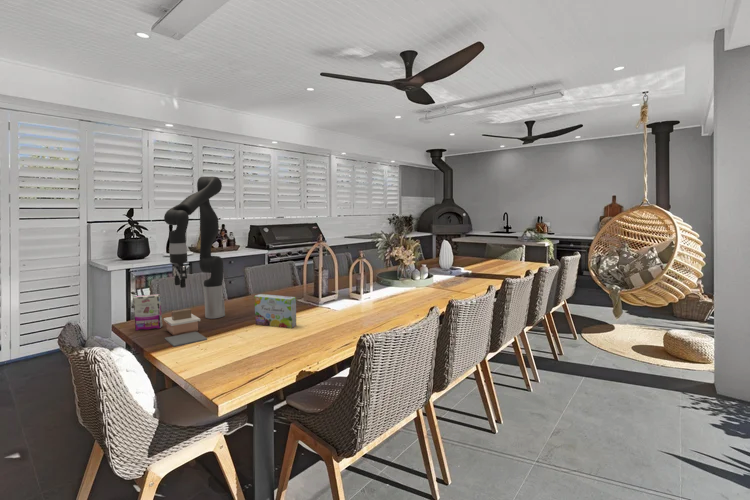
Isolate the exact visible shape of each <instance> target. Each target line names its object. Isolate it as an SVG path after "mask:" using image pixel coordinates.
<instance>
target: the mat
mask: <svg viewBox="0 0 750 500" xmlns="http://www.w3.org/2000/svg"><path fill="white" fill-rule="evenodd" d="M164 340H165V341H166V342H167V343H169V344H170V345H171V346H172V347H174V348H176V347H180V346H185V345H189V344H194V343H199V342H203V341H208V338H207V337H206V336H204V335H203V334H201V333H199V332H198V331H195V332H190V333H185V334H180V335H175V336H173V335H172V336H167V337H164Z"/></svg>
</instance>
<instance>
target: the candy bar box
mask: <svg viewBox="0 0 750 500" xmlns="http://www.w3.org/2000/svg"><path fill="white" fill-rule="evenodd" d="M161 298H162V297H161V294H160V293H159V294H144V295H143V294H142V295H135V296H133V298H132V299H133V301H132V302H133V313H134V315H133V316H134V326H135V331H147V330H148V331H149V330H160V329H161V328H162V327H163V315H162V312H163V311H162V300H161Z"/></svg>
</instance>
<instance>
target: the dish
mask: <svg viewBox="0 0 750 500" xmlns="http://www.w3.org/2000/svg"><path fill="white" fill-rule="evenodd" d="M165 323H166V324H165V325H166V331H167V332H169V334H171V335H172V336H176V335H181V334H186V333H191V332H198V331H199V321H197V322H191V323H186V324H180V325H174V326H171V325H169V324H168V323H167V322H165Z"/></svg>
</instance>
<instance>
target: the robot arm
mask: <svg viewBox="0 0 750 500" xmlns="http://www.w3.org/2000/svg"><path fill="white" fill-rule="evenodd" d="M197 179H198V180H197V184H196V187H197V188H196V189H197V191H196V192H193V193H192V194H190V195H188V196H186V198H184V199H183V200H182V201H181V202H180V203H179V204H177V205H175V206H173V207H171V208H169V209H168V210H167V211H166V212H165V213H164V216H163V220H164V223H166V224H167V225H169V226H176V227H175V229H174V230H171V231H169V235H168V237H169V247H168V249H169V250H168V251H169V263H171V268H172V272H171V273H172V274H171V275H172V276H173V278H174V285H175V286H179V287H180V289H184V288H186V279H188V272H187V269H188V268H187V265H184V264H185V263H188V248H187V247H188V246H187V239H186V234H187V230H188V226H189V221H190V217H189V216H190V215H192V214H194V212H195V211H196V210H197V209H198V208H199V232H200V234H199V235H200V242H199V244H200V245H199V247H200V250H199V259H198V260H199V263H198V264H199V269H200V271H201V272H202V273H205V274H206V273H207V274H210V277H209V278H207V279H205V280H204V281H203V293H204V295H203V296H204V298H203V299H204V315H205V316H204V317H205V319H210V320H211V319H220V318H223V317H226V312H225V311H226V310H225V307H226V306H225V298H223V297H224V295H223V281H224V261H223V259H222V257H221V256H218V255H212V246H213V243H214V241H215V240H216V238H217V236H218V233H219V230H220V229H219V226H220V225H219V217H218V215H217V213H216V212H215V210H214V209H213V207H212V205H211V203H210V199H211V198H213V197H214V196H216V195H218V194H219V193H220V192H221V191H222V188H223V185H222V184H223V183H222V180H221V179H220V178H219V177H218V176H214V175H213V176H200V177H199V178H197Z"/></svg>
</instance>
